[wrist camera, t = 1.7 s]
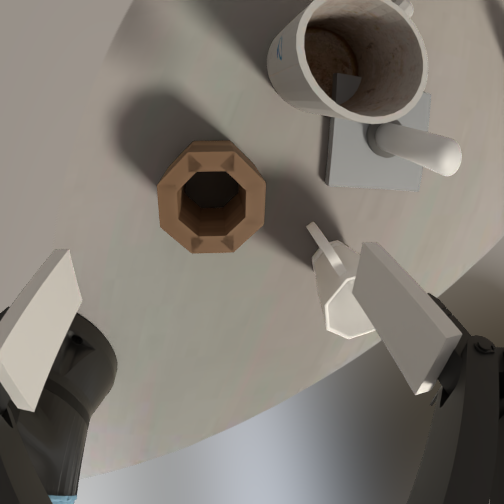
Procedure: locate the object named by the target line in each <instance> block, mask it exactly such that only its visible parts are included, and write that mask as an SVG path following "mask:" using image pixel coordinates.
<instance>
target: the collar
mask: <svg viewBox="0 0 504 504" xmlns="http://www.w3.org/2000/svg"><path fill="white" fill-rule="evenodd" d="M206 171H226V172H227V173H228V174H229V175H230V176H232V177H233V178H234V179H235V180H236V181H237V182H238V183H239V193H238V194H237V195H236V196H235V197H233V198H232V199H231V200H230V201H229V202H228V203H227V204H226V205H225V206H224V207H223V208H200V207H199V206H198V205H197V204H196V203H195V202H194V201H193V200H191V199H190V198H189V197H188V196H187V195H186V194H185V183H186V182H187V181H188V180H189V179H190V178H191V177H192V176H193V175H194V174H195V173H196V172H206ZM157 193H158V207H159V219H160V227H161V228H162V229H163V230H164V231H166V232H167V233H168V234H169V235H170V236H171V237H173V238H174V239H175V240H176V241H177V242H179V243H180V244H181V245H182V246H183V247H185V248H186V249H187V250H188V251H190V252H191V253H226V252H234V251H235V250H237V249H238V248H239V247H240V246H241V245H242V244H243V243H244V242H245V241H246V240H247V239H249V238H250V237H251V236H252V235H253V234H254V233H255V232H256V231H257V230H258V229H260V228H261V227H262V226H263V225H264V214H265V193H266V182H265V181H264V179H263V177H262V176H261V174H260V173H259V171H258V170H257V168H256V166H255V165H254V164H253V163H252V162H251V161H250V160H249V159H248V158H247V157H246V156H245V155H244V154H243V153H242V152H241V151H240V150H239V149H238V148H237V147H236V146H235V145H234V144H233V143H232V142H231V141H230V140H220V141H193V142H192V143H191V144H190V145H189V146H188V147H187V148H186V149H185V150H184V151H183V152H182V153H181V154H180V155H179V156H178V158H177V159H176V160H175V161H174V162H173V163H172V164H171V165H170V166H169V167H168V169H167V170H166V172H165V173H164V175H163V177H162V178H161V180H160V181H159V183H158V185H157Z"/></svg>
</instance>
